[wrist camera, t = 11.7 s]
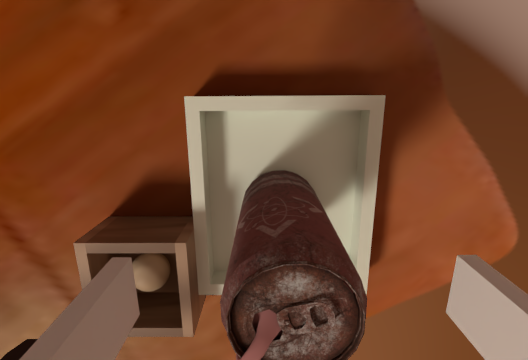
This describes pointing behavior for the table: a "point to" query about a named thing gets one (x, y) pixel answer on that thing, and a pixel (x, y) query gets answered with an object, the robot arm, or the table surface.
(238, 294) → the can
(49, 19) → the table surface
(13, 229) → the table surface
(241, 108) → the tray
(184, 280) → the square wooden box
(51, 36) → the table surface
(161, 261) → the cork ball
